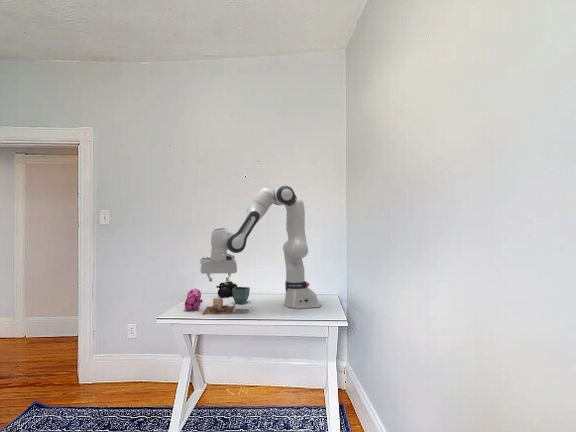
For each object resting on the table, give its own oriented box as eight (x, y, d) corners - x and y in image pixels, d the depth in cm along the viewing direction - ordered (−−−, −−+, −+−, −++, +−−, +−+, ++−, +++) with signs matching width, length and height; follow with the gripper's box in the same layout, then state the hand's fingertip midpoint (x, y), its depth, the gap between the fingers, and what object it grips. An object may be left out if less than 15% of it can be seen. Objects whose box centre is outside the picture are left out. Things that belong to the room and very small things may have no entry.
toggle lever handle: (212, 309, 198) (212, 298, 198) (222, 308, 200) (222, 298, 200) (214, 313, 188) (214, 302, 189) (224, 312, 190) (224, 301, 190)
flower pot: (245, 304, 209) (245, 289, 210) (231, 304, 211) (231, 289, 211) (250, 301, 218) (250, 287, 218) (236, 300, 220) (236, 286, 220)
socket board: (234, 306, 206) (234, 303, 206) (232, 313, 190) (232, 310, 190) (207, 307, 205) (207, 304, 205) (202, 314, 189) (202, 311, 189)
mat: (249, 309, 198) (249, 308, 198) (248, 313, 190) (248, 312, 190) (235, 309, 198) (235, 309, 198) (233, 313, 190) (233, 312, 190)
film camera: (210, 298, 229) (210, 282, 229) (218, 294, 241) (218, 279, 241) (235, 299, 224) (235, 284, 224) (242, 295, 236) (242, 280, 236)
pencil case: (202, 310, 196) (202, 293, 196) (184, 312, 194) (184, 294, 194) (202, 302, 217) (202, 286, 217) (185, 303, 215) (185, 287, 215)
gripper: (199, 257, 194) (199, 282, 193) (236, 257, 195) (236, 282, 195) (201, 256, 200) (201, 280, 200) (237, 256, 201) (237, 280, 201)
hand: (219, 281), depth 197 cm, fingers open, 8 cm apart
